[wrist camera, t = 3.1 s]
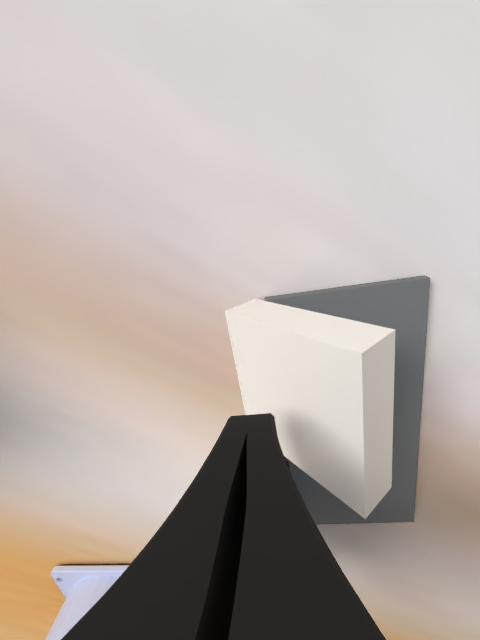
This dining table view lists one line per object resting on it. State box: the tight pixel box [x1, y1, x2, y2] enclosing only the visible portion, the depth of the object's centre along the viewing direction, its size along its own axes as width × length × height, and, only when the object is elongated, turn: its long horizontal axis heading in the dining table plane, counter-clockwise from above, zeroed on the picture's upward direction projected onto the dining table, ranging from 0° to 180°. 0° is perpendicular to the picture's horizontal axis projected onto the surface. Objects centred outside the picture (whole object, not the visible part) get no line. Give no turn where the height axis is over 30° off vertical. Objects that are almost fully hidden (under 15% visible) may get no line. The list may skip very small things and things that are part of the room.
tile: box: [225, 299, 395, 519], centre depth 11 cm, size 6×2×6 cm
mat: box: [265, 276, 430, 524], centre depth 14 cm, size 14×6×1 cm, turn 10°
